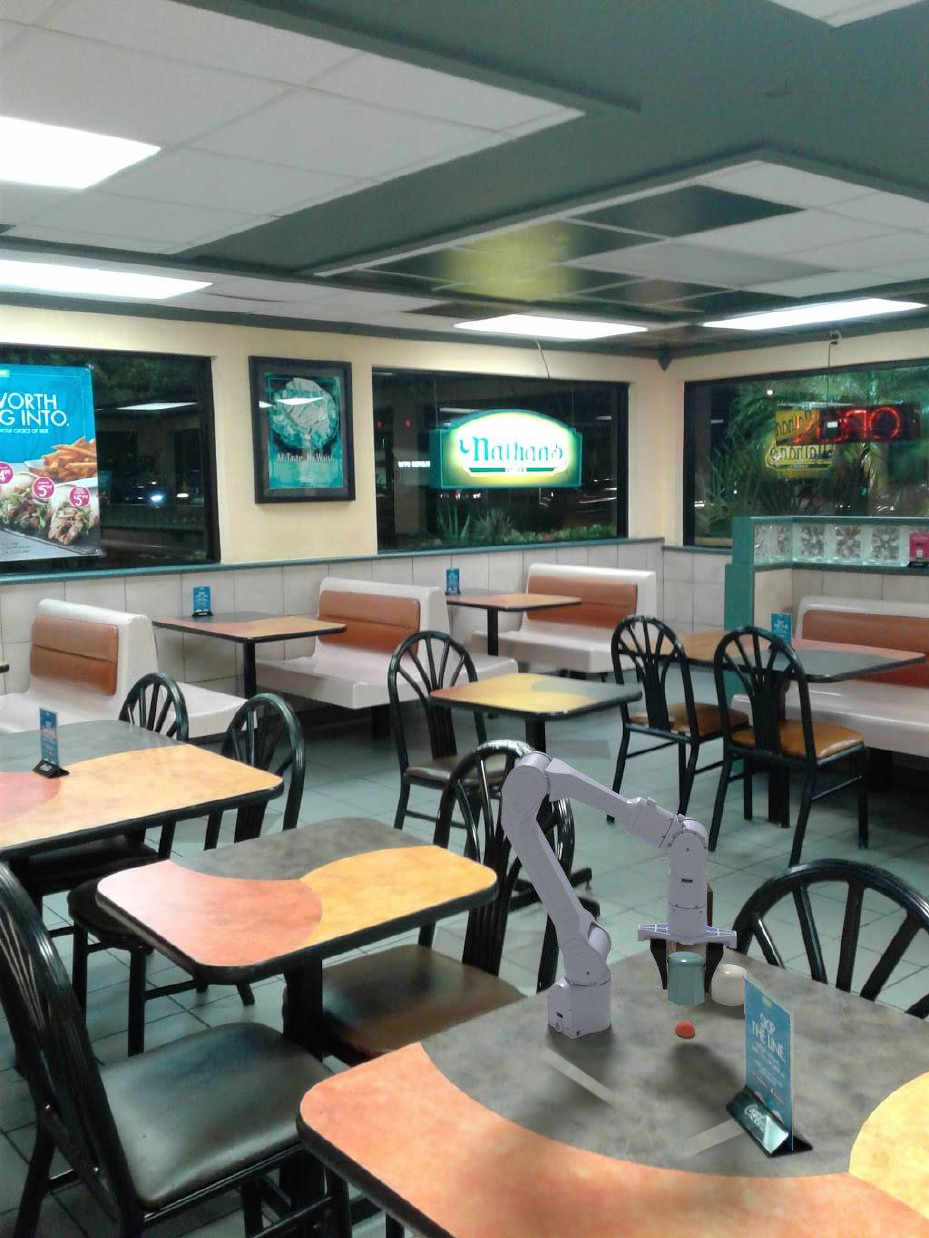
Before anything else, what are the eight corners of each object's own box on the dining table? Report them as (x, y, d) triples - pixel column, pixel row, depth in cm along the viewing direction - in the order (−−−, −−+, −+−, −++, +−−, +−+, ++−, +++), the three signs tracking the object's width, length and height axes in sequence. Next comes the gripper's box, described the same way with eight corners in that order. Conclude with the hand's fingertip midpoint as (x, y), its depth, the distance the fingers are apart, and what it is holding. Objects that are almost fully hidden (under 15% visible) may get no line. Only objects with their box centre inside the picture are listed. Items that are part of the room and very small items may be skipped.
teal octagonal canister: (685, 1009, 163) (686, 970, 162) (658, 995, 167) (659, 957, 167) (713, 999, 166) (713, 961, 165) (685, 985, 170) (686, 948, 170)
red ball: (684, 1047, 165) (685, 1029, 165) (670, 1039, 168) (670, 1021, 167) (698, 1042, 167) (699, 1023, 167) (684, 1034, 169) (685, 1015, 169)
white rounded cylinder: (730, 1018, 174) (730, 982, 174) (703, 1004, 179) (704, 969, 178) (754, 1008, 178) (755, 973, 177) (727, 995, 182) (728, 961, 181)
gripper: (637, 908, 162) (636, 996, 164) (738, 915, 159) (736, 1004, 161) (639, 891, 169) (637, 975, 171) (736, 897, 166) (734, 983, 168)
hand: (685, 988), depth 166 cm, fingers closed on teal octagonal canister, 5 cm apart
